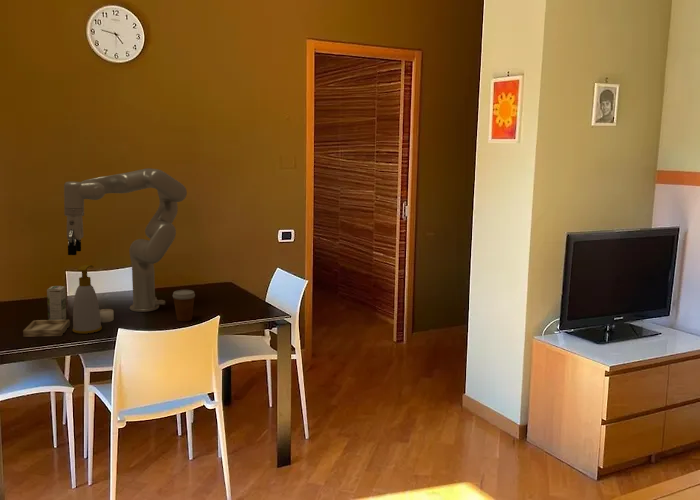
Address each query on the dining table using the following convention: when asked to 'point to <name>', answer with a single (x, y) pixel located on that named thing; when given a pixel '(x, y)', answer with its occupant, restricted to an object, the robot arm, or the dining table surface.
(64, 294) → the syrup box
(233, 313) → the dining table surface
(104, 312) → the cream dome
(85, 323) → the soap bottle
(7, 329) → the dining table surface
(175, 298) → the disposable coffee cup
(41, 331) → the tray
